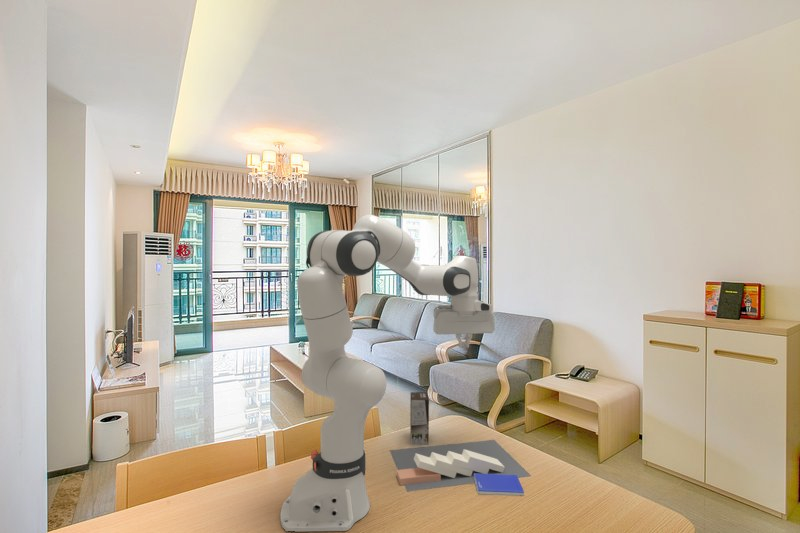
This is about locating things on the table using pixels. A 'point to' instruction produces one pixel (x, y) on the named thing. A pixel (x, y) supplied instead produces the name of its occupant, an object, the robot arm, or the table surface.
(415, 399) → the coffee box
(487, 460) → the domino
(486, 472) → the domino
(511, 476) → the hard drive
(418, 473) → the tile
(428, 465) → the domino
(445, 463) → the domino
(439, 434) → the table surface
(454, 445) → the mat
